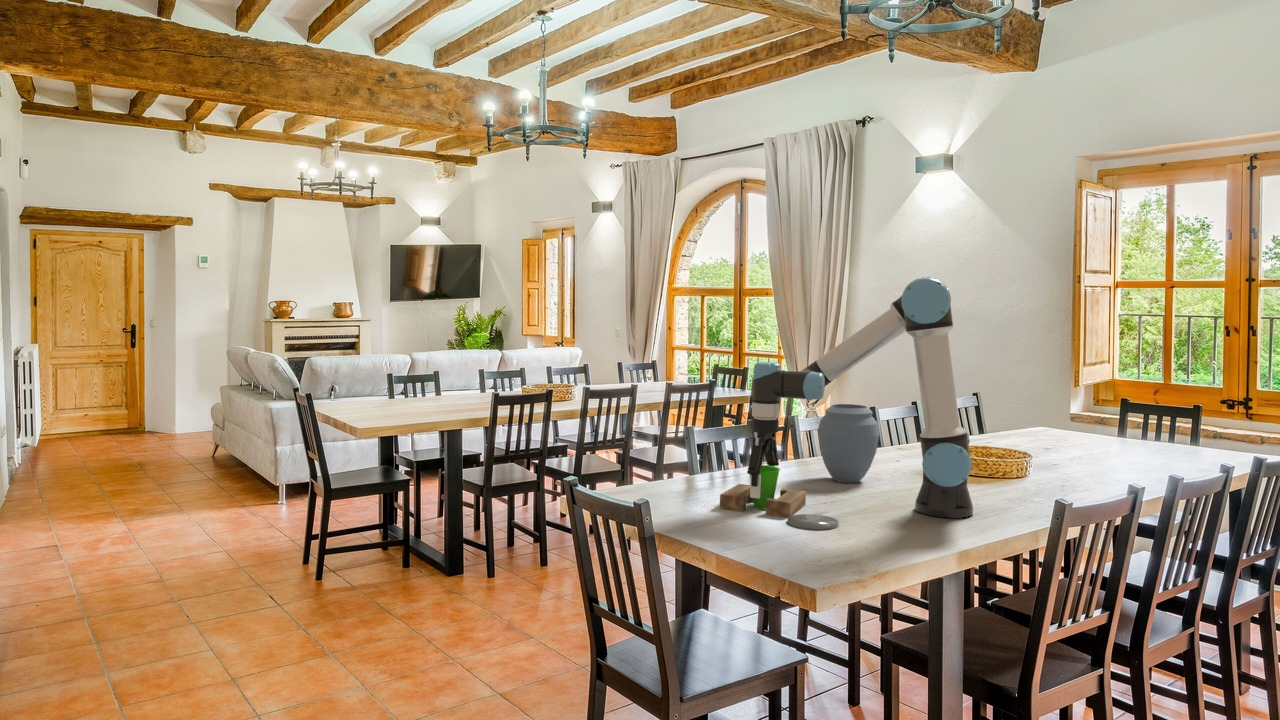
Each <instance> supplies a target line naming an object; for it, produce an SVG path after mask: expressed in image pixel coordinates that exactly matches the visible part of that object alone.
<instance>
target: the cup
mask: <svg viewBox="0 0 1280 720" xmlns="http://www.w3.org/2000/svg"><path fill="white" fill-rule="evenodd" d="M780 472H781V468H780V467H779V466H776V467H774V466H767V464H766V465H764V464H762V467H761V470H760V474H761V489H760V498H753V501H752V502H753V506H754V508H755V509H759V510H766V500H767V499H768V498H772V499H775V494H776V491H777V490H776V488H777V484H778V480H779V473H780ZM750 478H751V474H749V479H750Z"/></svg>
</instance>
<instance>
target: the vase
mask: <svg viewBox="0 0 1280 720" xmlns="http://www.w3.org/2000/svg"><path fill="white" fill-rule="evenodd" d="M818 424H819V425H818V428H817V436H818V446H819V450H820V454H821V458H822V460H823V463H824V466H825V468H826V469H827V472H828V473H829V475H830V477H832V479H833V480H834V481H836V482H839V483H845V484H855V483H858V482H860V481H861V480H863V478H864V477H865V476H866V474H867V473H868V471H869V470H870V468H871V466H872V463H873V460H874V458H875V456H876V453H877V449H878V443H879V440H880V439H879V438H880V429H879V423H878V422H877V420H876V419H875V417H873V411H872V410H871V409H870V408H869V407H868V406H865V405H861V404H848V403H841V404H839V403H838V404H831V406H829V407H828V408H826V409H825V414H824V416H822V418H821V419H820V420H819V423H818Z"/></svg>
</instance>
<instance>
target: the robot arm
mask: <svg viewBox="0 0 1280 720" xmlns="http://www.w3.org/2000/svg"><path fill="white" fill-rule="evenodd" d="M951 302H952V296H951V293H950V290H949V288H948V287H947V286H946V284H945V283H944V282H942V281H941V280H939V279H937V278H935V277H931V276H930V277H929V276H928V277H925V276H924V277H920V278H916V279H914V280H912V281H911V282H909V284H907V285H906V287H905V289H904V290H903V292H902V295H900V297H898V298H897V299H896V300H895V301H893V302H892V303H891V304H890V308H889V309H888V310H886V311H884V312H883V313H882V314H880V315H879V316H877V318H875V319H873V320H872V321H870V322H869V323H868V324H866V325H865V326H863V327H862V328H861V329H859V330H857V331H856V332H854V334H852V335H851V336H849V337H848V338H845V340H843V341H842V342H841V343H839V344H837V345H836V346H835V347H833V348H831V350H829V351H828V352H826V353H825V354H823V355H821V356H820V357H819V358H818V359H816V360H814V362H812V363H811V364H809V365H808V366H806V367H804V368H803V369H802V370H799V371H798V370H797V371H794V370H783V369H782V367H781V364H780V363H777V362H770V361H769V362H763V361H762V362H760V361H759V362H756V363H755V364H754V365H753V374H752V375H753V377H752V402H751V403H752V404H751V405H750V409H751V416H752V418H751V425H750V426H751V427H750V428H751V431H752V432H753V433H756V434H757V435H756V437H753V438H752V446H751V452H750V457H749V462H748V468H747V471H746V472H747V474H748V475H750V474H751V478H750V477H749V480H750V484H749V485H750V497H751V498H760V489H761V474H760V470H761V467H762V465H763V462H764V458H765V461H766V465H767V466H774V467H779V465H780V462H779V454H778V448H777V447H778V446H777V445H778V444H777V433H778V432H779V427H780V426H779V425H780V421H779V419H778V418H779V417H780V399H781V398H782V399H784V398H786V399H798V400H799V399H801V400H808V401H812V400H814V401H815V400H817V401H818V400H822V399H823V398H824V394H825V387H826V386H828V385H829V384H831V382H834V381H835V380H836V379H838V378H839V377H841V376H842V375H844V374H845V373H846V372H849V371H850V370H851V369H853V368H854V367H856V366H857V365H858V364H860V363H861V362H863V361H865V360H866V359H867V358H869V357H870V356H872V355H874V354H875V353H876V352H878V351H879V350H881V349H882V348H883V347H885V346H887V345H888V344H889V343H891V342H893V341H894V340H895V339H896V338H898V337H900V336H901V335H903V334H904V333H906V334H908V335H909V336H910V337H912V338H913V344H914V351H915V360H916V361H915V362H916V369H917V375H918V376H917V377H918V384H919V392H920V401H921V408H922V415H923V424H924V429H923V431H921V433H920V434H919V439H920V448H921V456H922V461H921V462H922V463H921V464H922V484H921V486H920V488H919V491H918V494H917V496H916V499H915V503H914V505H915V506H914V510H915V511H916V512H917V511H918V513H919V512H920V514H922V513H923V515H925V514H927V515H926V516H930V515H931V516H930V517H935V516H938V517H937V518H943V517H948V518H947V519H964V518H963V517H966V518H969V517H968V516H970V517H972V516H973V515H974V504H973V502H972V498H971V494H970V492H969V488H968V477H969V476H970V473H971V472H972V469H973V463H972V461H973V460H972V458H971V455H970V447H969V446H970V442H971V441H970V434H969V432H968V431H967V430H966V429H965V428H963V427H962V426H961V424H960V417H959V410H958V409H959V408H958V403H957V395H956V388H955V386H956V385H955V380H954V379H955V378H954V370H953V364H952V356H951V348H950V346H951V345H950V339H949V332H951V331H952V330H953V327H954V322H953V315H952V313H953V312H952V306H951ZM971 515H972V516H971Z"/></svg>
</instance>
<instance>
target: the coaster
mask: <svg viewBox="0 0 1280 720" xmlns="http://www.w3.org/2000/svg"><path fill="white" fill-rule="evenodd" d="M787 523H788V524H789V525H790V526H792V527H794V528H798V529H803V530H811V531H826V530H827V531H829V530H833V529H837V528H838V527H839V524H840V523H839V520H838V519H837V518H834V517H831V516H827V515H822V514H814V513H813V514H812V513H808V514H807V513H806V514H805V513H804V514H803V513H801V514H794V515H793V516H790V517H787Z"/></svg>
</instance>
